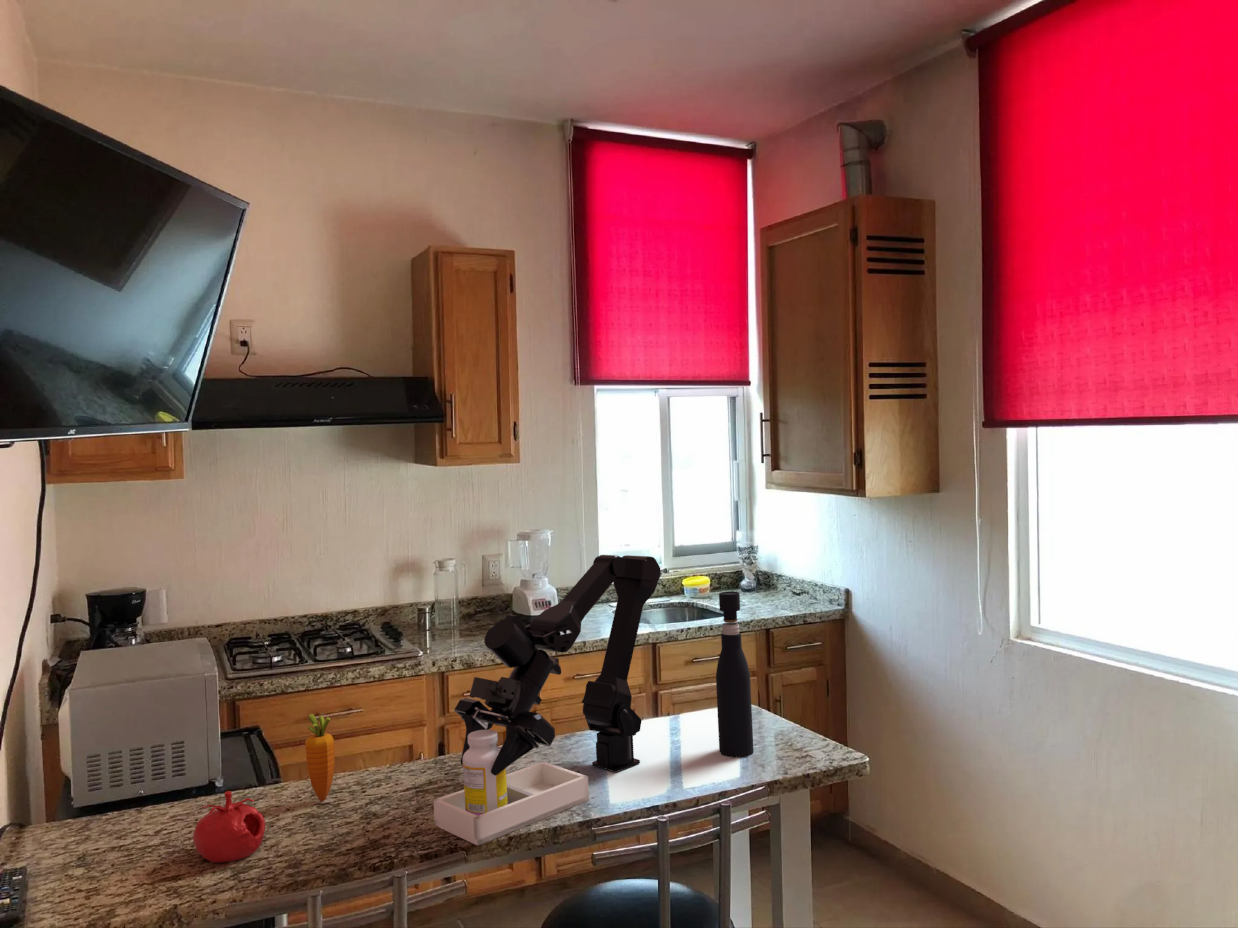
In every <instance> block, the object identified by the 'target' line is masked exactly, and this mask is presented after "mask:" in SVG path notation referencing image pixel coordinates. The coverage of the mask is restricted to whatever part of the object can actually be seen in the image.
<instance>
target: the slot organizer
mask: <svg viewBox="0 0 1238 928" xmlns="http://www.w3.org/2000/svg"><path fill="white" fill-rule="evenodd" d="M506 781H507V799H508V805H505V806H502V807H500V808H497V809H495V810H492V811H489V812H487V813H484V814H481V815H479V816H477V815H475V814H472V813H470V812H468V811H466V810H465V794H464V789H462V790H459V791H456V792H452V793H450V794H447V795H444V796H441V797H438V798H435V799H433V818H434V819H433V820H434V821H433V822H434V826H435V827H437V826H438V827H437V828H439V827H440V828H439V829H441V830H443V829H444V831H446V832H447V833H450V834H452V835H454V836H457V837H458V838H461V839H463V840H465V841H467V842H469V843H471V844H473V845H476V846H477V847H478V846H480V845H483V844H486V843H488V842H491V841H493V840H495V839H498V838H500V837H503V836H505V835H507V834H510V833H512V832H514V831H515V832H516V831H518V830H520V829H523V828H525V827H527V826H530V825H533V824H534V823H537V822H539V821H542V820H544V819H547V818H549V817H551V816H554V815H557V814H559V813H562V812H564V811H566V809H567V810H569V809H571V807H572V808H574V807H576V806H579V805H581V804H584V803H585V802H588V801H590V793H589V791H590V789H589V776H588V775H585V774H582V773H580V772H579V773H578V772H577V771H573V770H570V769H567V768H564V767H561V766H558V765H554V764H552V763H549V762H545V761H541V762H538V763H536V764H533V765H529V766H526V767H525V768H520V769H518V770H515V771H512V772H509V773H506Z"/></svg>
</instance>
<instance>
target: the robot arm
mask: <svg viewBox="0 0 1238 928" xmlns="http://www.w3.org/2000/svg"><path fill="white" fill-rule="evenodd" d="M660 577H661V567H660V564H659V563H658V561H657V559H656V558H655V557H653V556H648V555H647V556H646V555H631V554H630V555H628V554H627V555H623V556H620V555H618V554H617V555H614V554H600V555H597V556H596V557H595V558H594V560H593V563H592V565H591V566H590V567H589V569H588V570H586V572H585V573H584V574H583V576H582V577H580V579H579V580H578V581H577V582H576V583H575V585H573V587H572V588H571V589H570V590H569V591H568V593H567V594H566V595H565V597H563V599H561V601H560V602H558V603H557V604H555V605H552V606H551V607H549V608H546V609H545V610H543V611H542V612H541V613H539V614H538V615H537V616H536V617H535V618H534V619H533V620H532V621H531V622H530V624H528V625H526V626H525V625H524V624H523V623H522V620H521V619H520V618H519V617H518V616H517V615H516V614H515V615H514V614H506V616H505V617H504V619H502V620H501V621H497V623H495V624H494V625H493V626H492V627H491V628H489V629H488V630H487V631H486V634H485V636H484V646H486V648H487V649H488V650H489V651H490V652H491V653H492V654H493V655H494V656H496V658H497V659H498V660H499V661H501V662H502V663H503V665H504V666H506V667H507V668H510V669H511V668H513V669H512V670H511V672H510V674H509V676H508V677H505V676H501V677H500V678H499V679H498V680H497V681H496V680H492V679H487V678H482V677H477V676H474V677H473V682H472V684H471V688H470V692H469V695H468V697H469V698H468V697H466V698H461V699H459V701H458V702H457V704H456V706H455V708H454V710H453V711H454V712H455V713H456V714H457V715H458V716H460V718H461V719H462V721H464V725H465V739H464V744H463V748H462V754H461V757H460V765H461V766H463V755H464V753H465V752H466V751H467V750H468V749H470V746H469V744H468V734H470V733H471V732H474V731H478V730H491V728H493V725H496V726H500V727H503V728H505V740H504V741H503V744H502V746H501V747H500V748H501V750H500V752H499V754H498V756H497V758H496V760H495V762H494V764H493V767H492V769H491V773H492V774H493V775H495V776H496V775H497V774H499V773H500V772H501V771H503V770H504V769H505V768H508V767H509V766H511V765H512V764H514V762H516V761H517V760H519V759H520V758H521V757H523V756H524V755H526V754H527V753H529V752H531V751H532V750H533V749H536V750H537V749H539V747H540V745H541V746H544V747H548V748H549V747H551V745H552V743H553V742H554V740H555V737H556V730H555V727H554V726H553V725H552V724H551V723H550V722H549V721H548V720H547V719H546V718H545V717H544V716H542V715H541V714H540V713H537V712H532V711H531V709H532V708H533V706H534V705H538V706H539V705H540V704H541V702H542V700H543V699H542V698H541V697H540V696H539V695H540V693H541V691H542V689H543V687H544V685H545V683H546V682H547V680H548V678H549V677H550V676H549V675H551V674H553V675H562V668H561V665H560V663H559V662H560V661H559V658H558V657H552V656H551V655H550V654H548V652H546V651H549V652H554V653H566V652H568V651H569V650H571V648H572V647H573V645H574V644H575V643H576V640H577V639H578V638H579V635H580V634H581V632H582V621H583V620H584V618H585V617H586V616H587V615H588V614H589V612H590V611H591V610H592V608H593V607H594V606H595V605H596V603H597V602H598V601H599V600H600V599H601V598H602V596H603V595H604V594H605V592H606V591H608V589H609V588H610V586H611V585H612V584H613V586H614V590H615V593H616V597H617V600H616V601H617V602H616V606H615V610H614V615H613V619H612V623H611V628H610V632H609V636H608V641H607V646H606V648H605V649H606V650H605V654H604V657H603V658H604V659H603V662H602V668H601V671H600V673H599V675H598V676H597V678H595V680H594V681H593V680H588V681H587V682H586V685H585V692H584V696H583V698H582V700H581V703H582V714H583V715H584V718H585V720H586V721H585V722H586V723H587V726H588V727H587V728H588V730H589V731H590V732H591V731H593V732H596V742H595V753H596V756H595V757H596V760H594V761H592V763H591V764H592V766H595V767H598V768H601V769H604V770H608V771H610V772H613V773H618V772H621V771H622V770H625V769H628V768H630V767H633V766H635V765H637V764H640V763H641V760H640V759H638V758H635V753H634V737H635V736H636V735H637V733H639V732H640V731H641V726H642V718H641V717H640V716H639V715H638V714H637V713H636V712H635V711H634V710H633V709H632V708H631V706H632V699H633V697H632V693H631V689H630V686H629V683H628V677H629V672H630V668H631V663H632V659H633V654H634V650H635V647H636V641H637V636H638V631H639V627H640V623H641V619H642V618H641V617H642V613H643V610H644V606H645V603H647V601H648V600H649V599H650V598H651V596H653V594H654V593H655V592H656V589H657V585H658V583H659V580H660ZM473 698H478V699H480V700H483V701H484V704H483V703H482V702H481V701H480V700H477V699H473ZM487 707H488V708H487ZM489 708H490V709H489Z"/></svg>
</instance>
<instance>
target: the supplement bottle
mask: <svg viewBox="0 0 1238 928" xmlns="http://www.w3.org/2000/svg"><path fill="white" fill-rule="evenodd" d="M498 736H499V735H498V732H497V731H496V730H493V729H489V730H478V731H474V732H471V733H470V734H468V744H469V746H470V749H468V750H467V751H466V752H465V753H464V755H463V765H462V772H463V773H462V774H463V790H464V794H465V810H466V811H468V812H470V813H472V814H475V815H477V816H479V815H481V814H484V813H487V812H489V811H492V810H495V809H497V808H500V807H502V806H505V805H508V799H507V781H506V774H507V769H506V768H505V769H504V770H503V771H501V772H500V773H499V774H497V775H496V776H495V775H493V774H492V773H491V769H492V767H493V764H494V762H495V760H496V758H497V756H498V754H499V752H500V750H501V748H502V747H500V746H498V745H497V744H498V741H499V737H498Z"/></svg>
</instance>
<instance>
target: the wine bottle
mask: <svg viewBox="0 0 1238 928" xmlns="http://www.w3.org/2000/svg"><path fill="white" fill-rule="evenodd" d="M740 598H741V596H740V592H738V591H721V592H719V593H718V603H719V605H718V606H719V611H720V612H723V613H722V615H723V619H722V620H723V622H724V623H722V626H721V628H722V630H721V632H722V633H721V634H720V639H721V650H720V653H719V657H718V660H717V666H716V671H715V672H716V674H715V684H716V686H715V687H716V705H717V706H716V707H717V710H716V711H717V727H718V729H717V730H718V749H719V750H718V751H719V753H720V754H721V755H722V756H725V757H728V758H729V757H730V758H743V757H744V758H745V757H749V756H751V755H752V754H753V753H754V734H753V733H754V732H753V731H754V730H753V714H752V713H753V712H752V711H753V710H752V709H753V707H752V689H751V674H750V669H749V664H748V661H747V659H746V658H747V657H746V656H745V653H744V649H743V647H742V645H743V644H742V633H740V631H741V630H740V628H741V627H740V625H739V623H738V612H739V611H741V599H740Z"/></svg>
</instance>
